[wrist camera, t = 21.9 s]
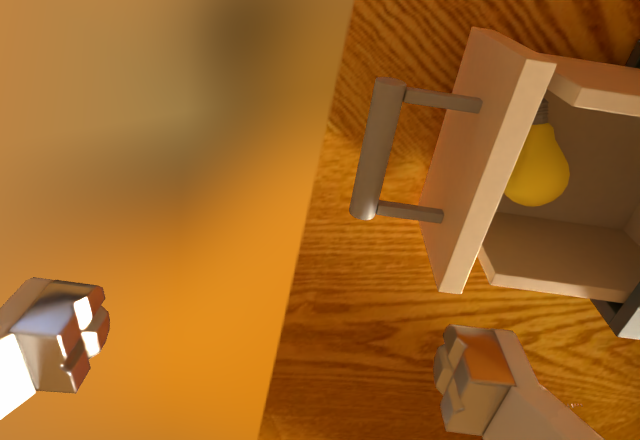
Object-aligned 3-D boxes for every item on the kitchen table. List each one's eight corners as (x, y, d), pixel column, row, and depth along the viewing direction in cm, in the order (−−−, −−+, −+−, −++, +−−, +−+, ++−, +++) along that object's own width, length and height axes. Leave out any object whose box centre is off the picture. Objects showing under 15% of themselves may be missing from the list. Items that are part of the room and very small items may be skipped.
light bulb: (500, 198, 26) (498, 214, 23) (499, 96, 25) (498, 99, 21) (563, 197, 25) (571, 214, 22) (567, 89, 23) (576, 90, 20)
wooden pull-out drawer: (342, 201, 28) (341, 278, 21) (378, 11, 22) (393, 37, 15) (613, 240, 29) (694, 326, 22) (721, 65, 23) (876, 112, 16)
